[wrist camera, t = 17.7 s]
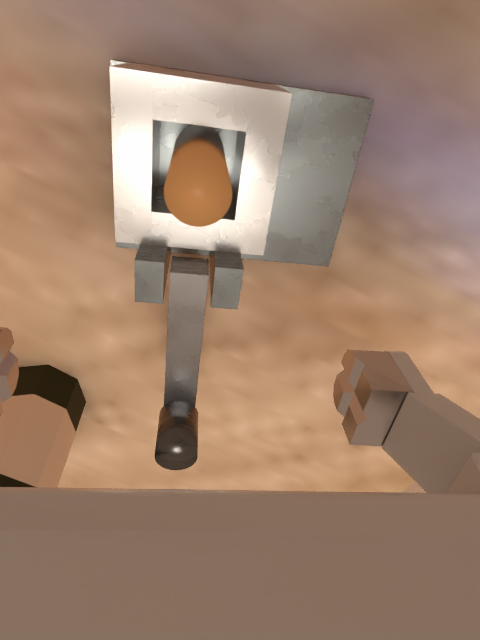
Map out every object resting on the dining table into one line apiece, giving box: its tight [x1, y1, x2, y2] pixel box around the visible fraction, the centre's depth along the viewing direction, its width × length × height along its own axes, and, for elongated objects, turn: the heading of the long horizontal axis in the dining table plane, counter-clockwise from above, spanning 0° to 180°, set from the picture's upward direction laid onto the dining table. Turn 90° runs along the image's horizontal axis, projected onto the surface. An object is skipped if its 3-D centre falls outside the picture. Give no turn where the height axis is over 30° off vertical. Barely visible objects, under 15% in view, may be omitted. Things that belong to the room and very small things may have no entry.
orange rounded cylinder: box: [164, 125, 232, 227], centre depth 26 cm, size 4×4×10 cm
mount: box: [110, 60, 374, 309], centre depth 28 cm, size 18×13×10 cm
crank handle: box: [155, 256, 208, 470], centre depth 29 cm, size 3×14×6 cm, turn 173°
